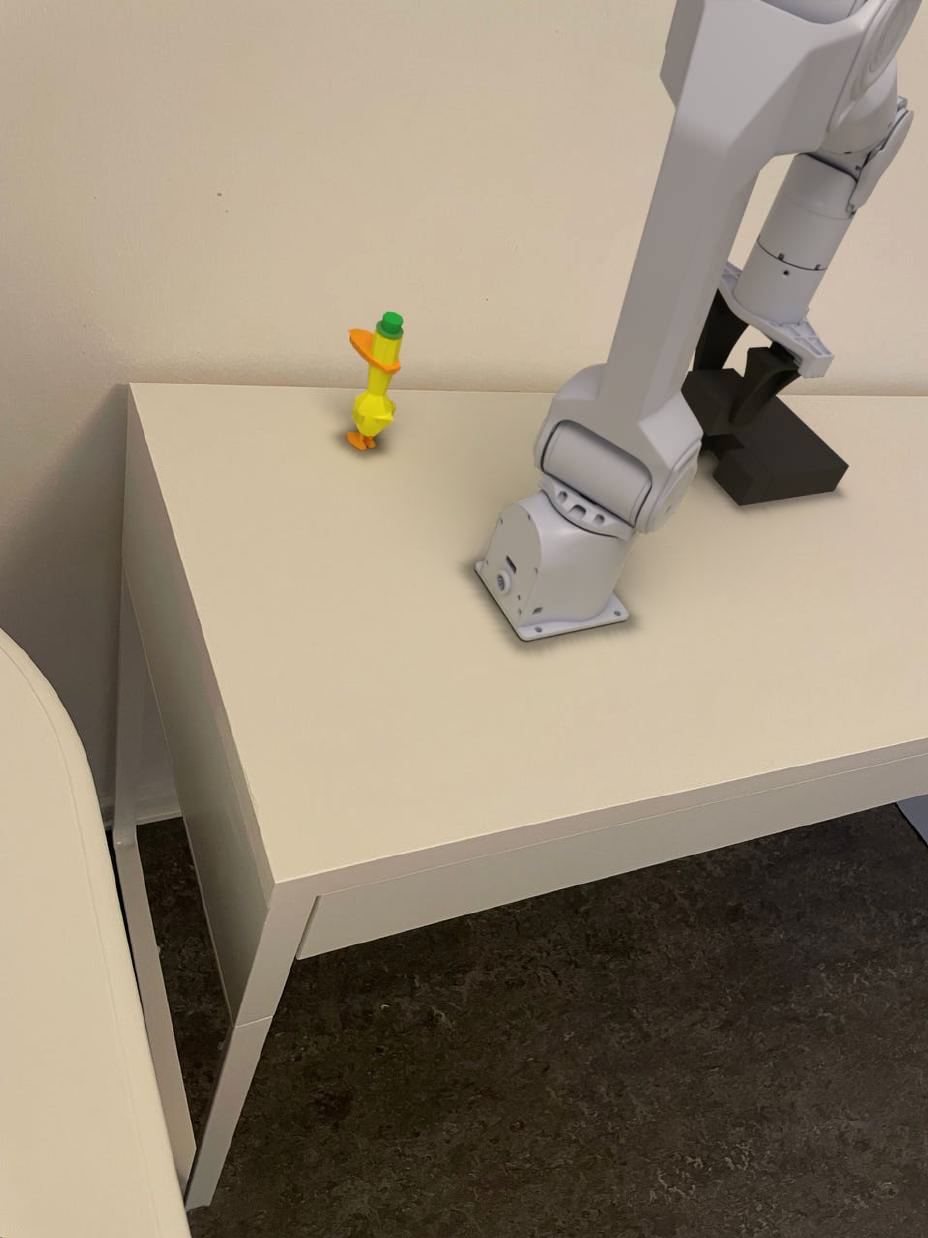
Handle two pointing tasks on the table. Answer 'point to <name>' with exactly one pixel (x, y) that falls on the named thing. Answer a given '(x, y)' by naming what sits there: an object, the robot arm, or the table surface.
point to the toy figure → (376, 378)
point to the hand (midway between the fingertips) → (719, 402)
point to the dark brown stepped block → (715, 400)
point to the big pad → (774, 459)
